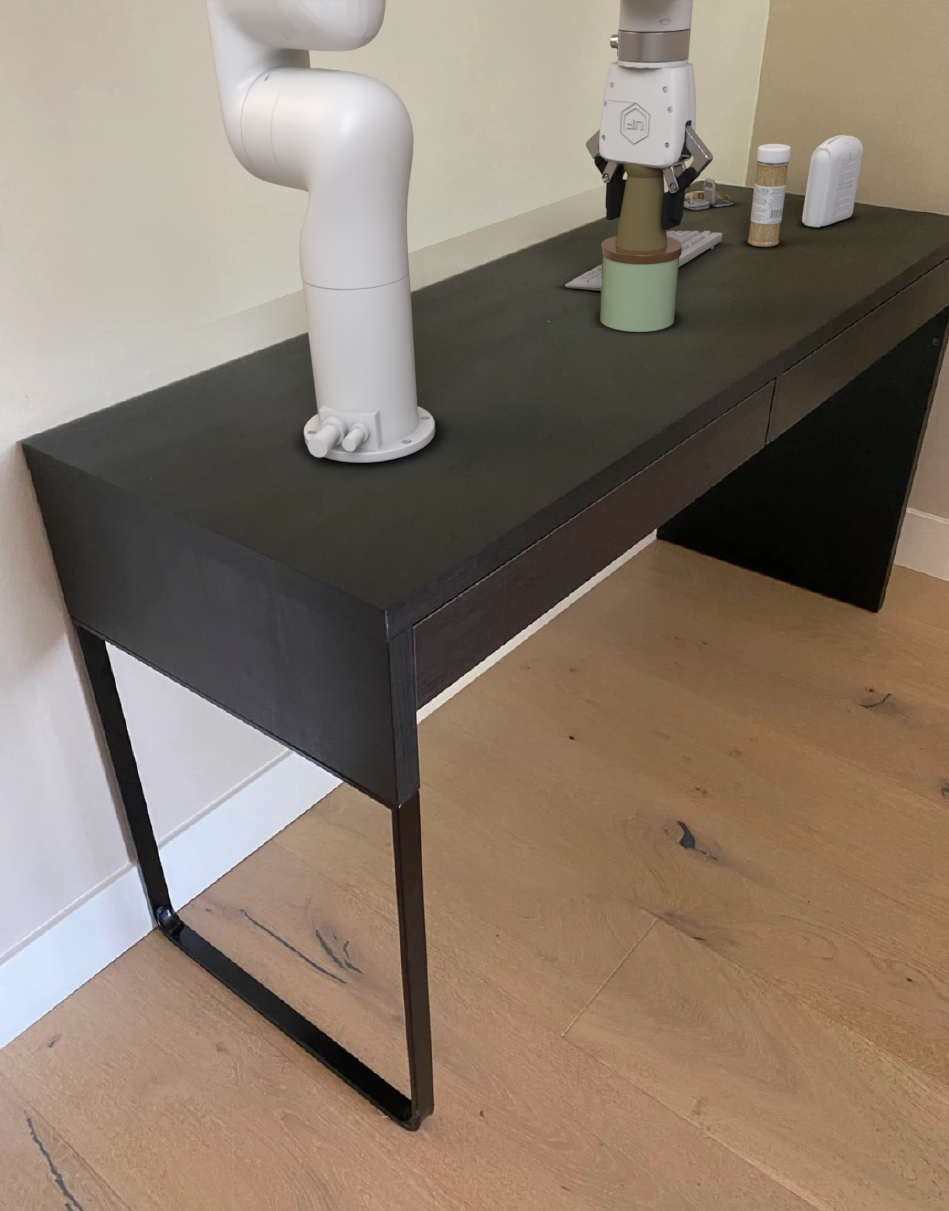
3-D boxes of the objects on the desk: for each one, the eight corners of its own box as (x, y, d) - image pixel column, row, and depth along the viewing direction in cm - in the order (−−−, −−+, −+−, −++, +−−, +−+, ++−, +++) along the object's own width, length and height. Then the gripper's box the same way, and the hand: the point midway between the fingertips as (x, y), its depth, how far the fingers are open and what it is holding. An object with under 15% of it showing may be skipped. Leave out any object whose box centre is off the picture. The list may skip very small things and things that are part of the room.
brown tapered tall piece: (666, 251, 119) (673, 148, 113) (613, 250, 120) (617, 147, 114) (668, 237, 124) (676, 137, 117) (617, 236, 125) (622, 137, 118)
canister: (670, 335, 122) (677, 257, 117) (591, 329, 124) (594, 252, 119) (680, 309, 129) (686, 235, 124) (605, 305, 132) (608, 231, 127)
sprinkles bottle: (770, 238, 155) (782, 141, 148) (784, 246, 151) (797, 147, 144) (741, 241, 154) (752, 143, 147) (755, 249, 151) (767, 149, 143)
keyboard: (657, 236, 158) (658, 222, 157) (722, 245, 153) (723, 231, 152) (564, 287, 138) (564, 272, 137) (634, 299, 133) (635, 283, 132)
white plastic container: (831, 212, 167) (844, 129, 160) (856, 217, 164) (870, 132, 157) (796, 225, 161) (809, 139, 154) (821, 230, 158) (835, 142, 152)
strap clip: (690, 211, 170) (693, 183, 168) (681, 207, 173) (683, 180, 170) (734, 204, 173) (737, 177, 171) (724, 201, 175) (727, 174, 173)
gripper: (566, 48, 113) (563, 218, 123) (707, 56, 103) (691, 240, 113) (606, 41, 117) (600, 205, 127) (744, 49, 108) (725, 226, 118)
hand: (642, 220), depth 120 cm, fingers open, 6 cm apart
